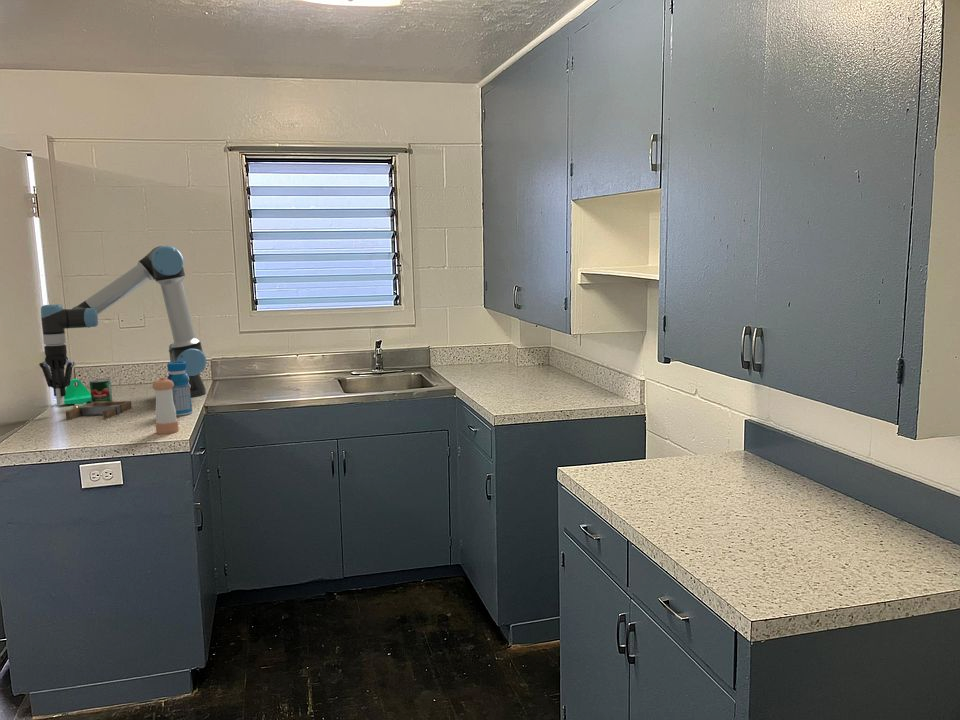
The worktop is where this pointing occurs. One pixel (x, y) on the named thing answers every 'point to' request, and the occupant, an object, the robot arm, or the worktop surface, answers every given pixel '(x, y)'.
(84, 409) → the bar
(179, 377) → the beverage bottle
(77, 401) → the camera mount
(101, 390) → the canned tomato
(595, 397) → the worktop surface
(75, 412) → the frame
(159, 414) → the pepper shaker
